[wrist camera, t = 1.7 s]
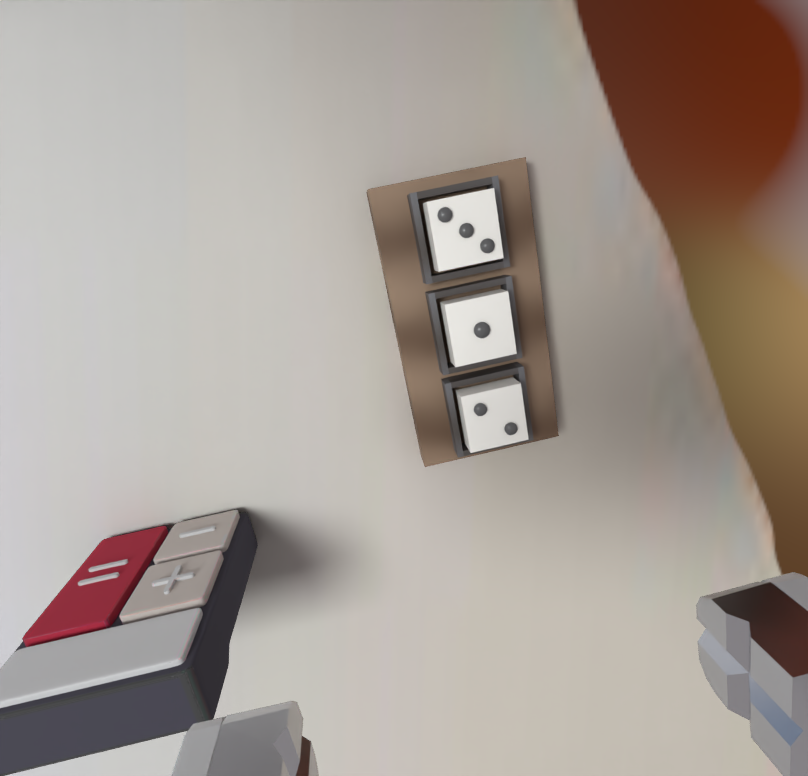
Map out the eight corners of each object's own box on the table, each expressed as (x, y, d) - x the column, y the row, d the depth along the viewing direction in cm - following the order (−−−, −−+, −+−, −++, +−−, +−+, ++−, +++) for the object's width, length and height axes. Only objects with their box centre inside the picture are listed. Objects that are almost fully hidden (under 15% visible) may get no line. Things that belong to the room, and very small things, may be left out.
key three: (422, 203, 31) (427, 201, 29) (486, 190, 31) (495, 187, 29) (434, 270, 32) (439, 272, 30) (496, 257, 32) (504, 257, 30)
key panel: (366, 192, 33) (368, 187, 30) (515, 162, 34) (533, 153, 30) (421, 455, 39) (427, 475, 35) (548, 426, 39) (566, 443, 36)
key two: (455, 390, 34) (461, 397, 33) (513, 377, 34) (521, 384, 33) (465, 444, 35) (471, 454, 34) (520, 431, 36) (529, 440, 34)
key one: (439, 302, 33) (445, 305, 31) (500, 288, 33) (509, 291, 31) (450, 361, 34) (456, 368, 32) (509, 348, 34) (517, 354, 32)
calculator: (246, 501, 38) (185, 657, 24) (261, 550, 39) (213, 726, 25) (97, 534, 38) (-56, 714, 23) (117, 582, 39) (-16, 782, 24)
